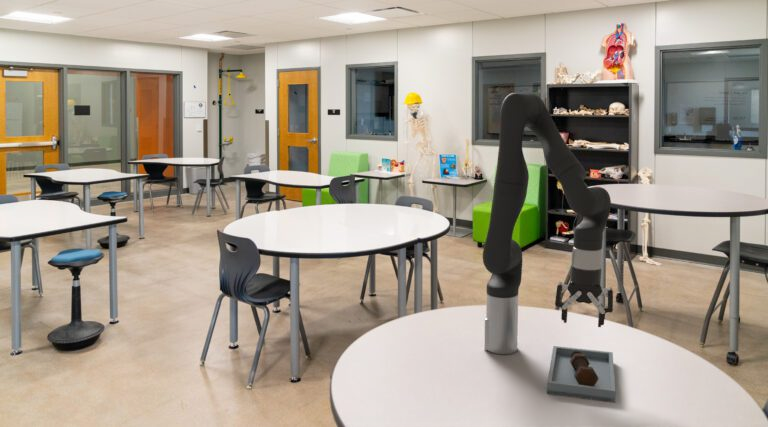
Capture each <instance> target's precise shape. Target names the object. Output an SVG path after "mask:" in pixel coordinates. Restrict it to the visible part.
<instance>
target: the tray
mask: <svg viewBox="0 0 768 427" xmlns="http://www.w3.org/2000/svg"><path fill="white" fill-rule="evenodd" d="M574 351H576V352H580V353H582V354H585V356H586V358H587V359H588V361H589V363H590V364H589V366H588V367H592V368H593V369H594V371H595V373H596V374H597V376H598V381H597V382H596V384H595V385H594V386H586V385H579V384H578V382H577V381H576V379H575V377H574V375H575V373H576V372H577V371H575V370H574V368H573V366H572V365H571V363H570V360H571V354H573V352H574ZM613 353H614V352H612V351H604V350H595V349H586V348H585V349H584V348H576V347H568V346H567V347H565V346H558V345H557V346H556V345H553V347H552V353H551V357H550V358H551V359H550V364H549V369H548V376H547V377H548V378H547V382H546V394H547V395H556V396H562V397H563V396H564V397H570V398H579V399H587V400H594V401H602V402H608V403H609V402H610V403H615V401H616V383H615V382H616V380H615V368H614V367H615V366H614V356H613V355H614V354H613Z"/></svg>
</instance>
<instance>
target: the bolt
mask: <svg viewBox="0 0 768 427" xmlns="http://www.w3.org/2000/svg"><path fill="white" fill-rule="evenodd" d="M570 363H571V365H572V366H573V368H574V370H575V371H577V372H576V373H575V375H574V377H575V379H576V381H577V382H578V384H579V385H586V386H594V385H595V384H596V382H597V381H598V376H597V374H596V373H595V371H594V369H593V368H592V367H588V366H589V364H590V363H589V361H588V359H587V358H586V356H585V354H582V353H580V352H576V351H574V352H573V354H571V360H570Z"/></svg>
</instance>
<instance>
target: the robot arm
mask: <svg viewBox="0 0 768 427" xmlns="http://www.w3.org/2000/svg"><path fill="white" fill-rule="evenodd" d="M499 112H500V115H499V143H498V152H497V160H496V161H497V163H496V172H495V176H494V184H493V193H492V201H491V207H490V208H491V209H490V218H489V225H488V229H487V230H488V231H487V234H486V238H485V242H484V246H483V252H482V262H483V265H484V268H485V269H486V270H487V271H488V272H489V273H490V274H491V276H490V278H489V280H488V281H487V284H486V301H485V302H486V303H485V304H486V307H485V308H486V310H485V311H486V312H485V314H486V316H485V319H484V351H487V350H488V352H490V353H493V354H496V355H511V354H513V353H516V352H517V350H518V332H519V331H518V330H519V329H518V328H519V326H518V324H519V320H518V319H519V289H520V285H521V283H522V274H523V252H522V251H523V250H522V248H521V246H520V244H518V243H519V242H517V241H516V240H514V239H513V233H514V229H515V225H516V224H517V221H518V218H519V216H520V215H521V212H522V210H523V207H524V204H525V202H526V200H527V194H528V187H529V186H528V185H529V179H530V178H529V177H530V174H529V169H528V165H527V161H526V159H525V155H524V152H523V139H524V132H525V128H528V129H529V130H531V132H532V133H533V134H534V135H535V137H536V138H537V139H538V141H539V142H540V145H541V147H542V151H543V157H544V160H545V163H546V165H547V167H548V169H549V170H550V172H551V173H552V175H553V176H554V177H555V179H556V180H557V181H558V182H559V184H560V185H561V187H562V191H563V194H564V196H565V199H566V202H567V203H568V205H569V206H568V207H569V208H570V209H571V210H572V211H573V212H574V214H576V215H578V216H579V217H582V221H581V222H580V223H579V224H578V225H576V227H575V228H574V231H573V246H572V250H571V251H572V253H571V260H570V275H569V276H570V277H569V283H568V284H565V283H564V284H563V283H562V282H557V286H556V292H555V293H556V294H555V300H554V305H555V307H559V308H560V309H561V318H560V319H561V321H563V323H564V324H567V321H568V309H569V307H570V306H571V305H572V304H573V303H575V302H577V303H580V304H581V303H584V304H586V305H587V304H588V305H590V304H592V303H593V305H594V307H595V308H596V309H597V310H598V320H597V322H598V323H597V327H598V328H602V326H604V324H605V316H606V314H607V313H612V312H613V311H614V308H613V307H614V290H613V287H608V288H605V287H604V288H602V285H601V283H602V282H601V281H602V270H603V243H604V242H603V238H604V230H605V228H606V226H607V222H608V219H609V216H610V212H611V208H612V207H611V206H612V203H611V202H612V201H611V196H610V194H609V192H608V191H607V190H606V189H605V188H603V187H601V186H593V187H588V186H587V185H586V183H585V181H584V180H585V179H586V177H587V172H586V170H585V168H584V166H583V165H582V163H581V162H580V161H579V159H578V158H577V157H576V156H575V154H574V152H572V150H571V148H570V147H569V146H568V145H567V143H566V141H565V140H564V138H563V137H562V135H561V133H560V131H559V129H558V127H557V125H556V123H555V122H554V120H553V117H552V116H551V114H550V112H549V110H548V108H547V105H546V104H545V102H544V100H543V99H542V98H541V96H539V95H538V94H535V93H532V92H531V93H529V92H512V93H509V94H508V95H507V96H506V97H505V98H504V99H503V101H502V103H501V108H500V111H499ZM566 290H567V291H568V293H569V296H568V297H567V298H566V300H564V301H562V300H561V299H562V294H563V293H564V292H566ZM602 294H603V295H604V297H605V298H607V305H606V306H604V304H603V303H602V301H601V300H600V299H599V297H600V296H601V295H602Z"/></svg>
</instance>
